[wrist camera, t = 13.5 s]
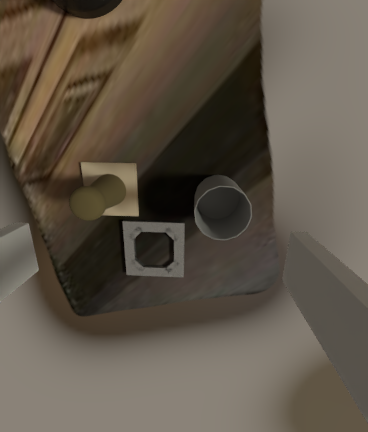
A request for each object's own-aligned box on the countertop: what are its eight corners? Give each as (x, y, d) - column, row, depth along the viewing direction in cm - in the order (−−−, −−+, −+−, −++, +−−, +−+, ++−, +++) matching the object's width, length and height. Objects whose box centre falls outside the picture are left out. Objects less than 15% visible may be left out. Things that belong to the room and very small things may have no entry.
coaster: (82, 161, 42) (80, 162, 42) (136, 163, 42) (135, 163, 41) (88, 213, 45) (87, 214, 45) (138, 215, 45) (138, 216, 44)
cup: (203, 223, 45) (204, 246, 35) (188, 184, 43) (186, 197, 33) (245, 209, 44) (258, 229, 34) (232, 168, 41) (243, 177, 32)
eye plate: (124, 219, 45) (122, 221, 44) (184, 221, 45) (184, 223, 44) (127, 272, 49) (126, 274, 48) (183, 274, 49) (183, 277, 48)
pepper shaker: (127, 205, 44) (106, 226, 33) (96, 205, 44) (65, 226, 34) (124, 173, 42) (101, 185, 31) (92, 173, 42) (58, 185, 32)
